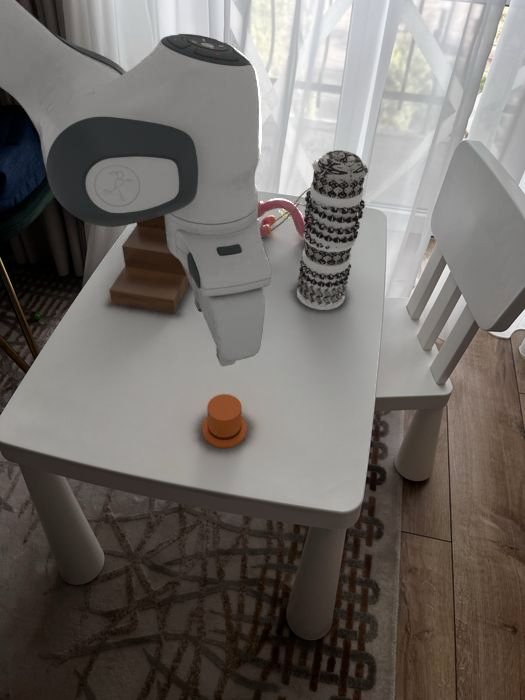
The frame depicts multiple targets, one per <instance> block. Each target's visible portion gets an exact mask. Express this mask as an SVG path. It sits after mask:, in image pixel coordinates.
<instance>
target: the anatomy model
mask: <svg viewBox="0 0 525 700" xmlns="http://www.w3.org/2000/svg"><path fill="white" fill-rule="evenodd" d="M310 188H311V186H310V187H309V188H307V189H306V190H304V191H303V192H302V193H301V194H300V195H299V196H298V198H297V199H296V200H295V201H294V202H292V201H290V200H288V199H285V198H271V199H269V200H268V199H267V200H266V201H263V200H259V201H258V218H261V217H262V216H264V215H265V214H266V213H267V212H269V211H272V210H276V209H278V212H279V214H281V216H279V217H277V218H276V216H274V215H266V216H264V217H263V219H262V220H261V222H260V224H261V225H260V234H261V238H265V237H267V236H268V235H271V233H272V232H273V231H274V230H276V229H277V228H279V227H280V226H281V225H282V224H284V223H285V222H286V221H288V220H289V218H292V221H293V225H294V227H295V230H296V232H297V234H298V235H299V236H300V237H301V238H303V239H304V232H303V230H304V229H305V228H304V225H305V222H304V217H305V216H304V215H303V213H302V212H301V211H300V209H299V208H298V206H303V207H305V206H306V204H305V203H302V202H299V200H300V199H301V198H302V196H303V195H304V194H306V193H307V191H309V190H310ZM281 209H282V210H281ZM283 212H284V213H283ZM282 218H283V220H282V221H281V222H279V223H278V224H277V225H276V226H275V227H273V228H271V226H273V225H274V224H276V222H277V221H279V220H280V219H282ZM304 242H305V243H306V241H305V240H304ZM305 243H304V244H305Z"/></svg>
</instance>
